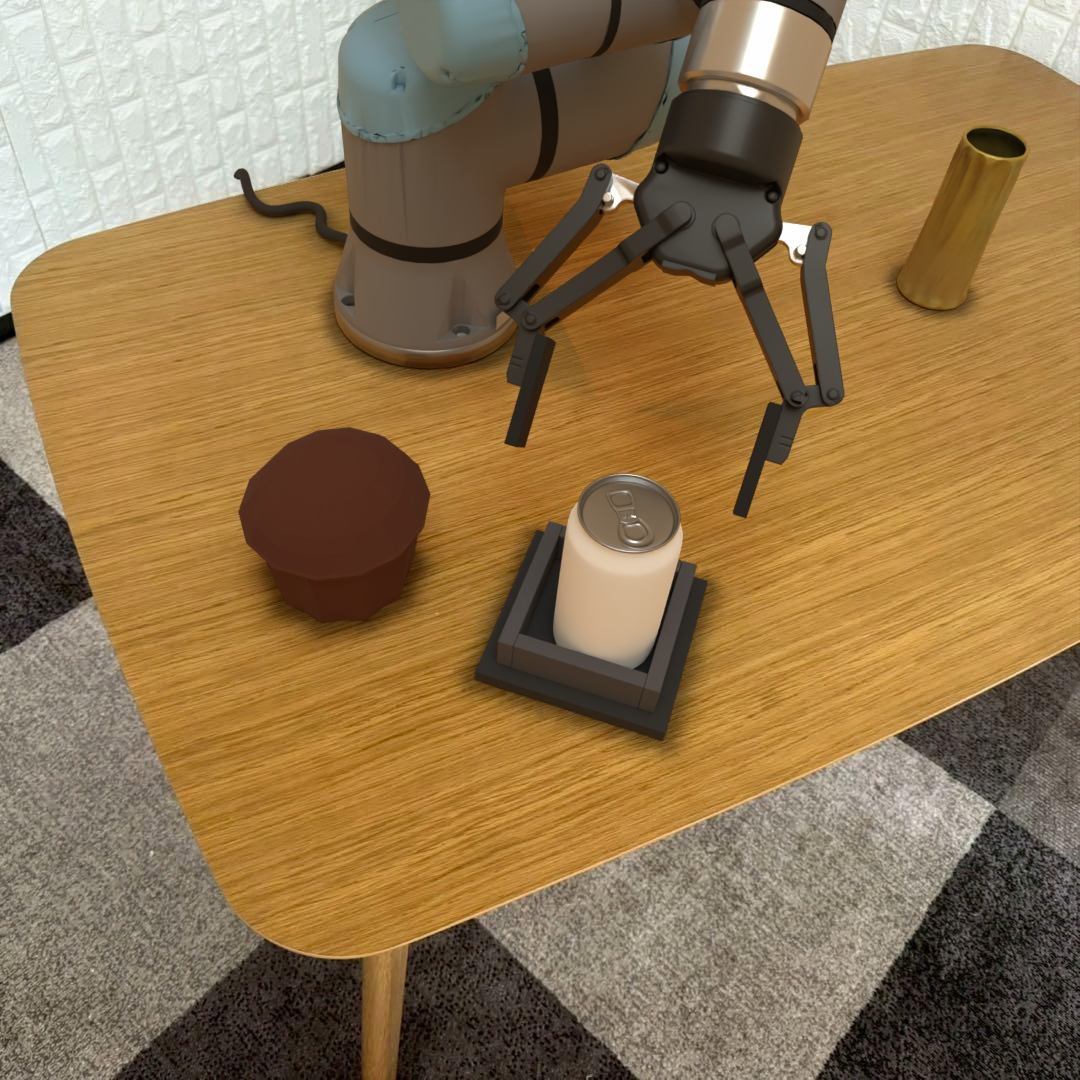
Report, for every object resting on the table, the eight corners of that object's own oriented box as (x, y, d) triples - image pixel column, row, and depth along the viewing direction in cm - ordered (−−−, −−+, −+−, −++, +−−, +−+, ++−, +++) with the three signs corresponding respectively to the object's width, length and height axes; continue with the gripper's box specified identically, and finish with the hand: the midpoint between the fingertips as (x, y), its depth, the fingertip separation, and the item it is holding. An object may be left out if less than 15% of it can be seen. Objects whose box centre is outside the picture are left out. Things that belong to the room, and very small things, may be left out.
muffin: (360, 671, 62) (348, 574, 54) (218, 593, 65) (186, 490, 57) (463, 543, 69) (465, 440, 61) (330, 477, 72) (316, 371, 64)
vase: (883, 273, 92) (943, 124, 81) (941, 264, 93) (1008, 117, 82) (918, 315, 88) (985, 166, 77) (977, 306, 90) (1052, 158, 79)
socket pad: (474, 680, 62) (475, 649, 60) (535, 538, 70) (539, 505, 67) (662, 741, 61) (673, 712, 58) (705, 589, 68) (716, 557, 65)
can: (568, 688, 61) (589, 568, 52) (540, 602, 65) (555, 476, 56) (668, 667, 63) (706, 547, 53) (635, 585, 67) (665, 459, 57)
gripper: (950, 186, 58) (830, 539, 61) (538, 81, 61) (442, 420, 64) (984, 147, 51) (845, 551, 53) (513, 30, 54) (406, 415, 57)
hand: (624, 480), depth 59 cm, fingers open, 13 cm apart
